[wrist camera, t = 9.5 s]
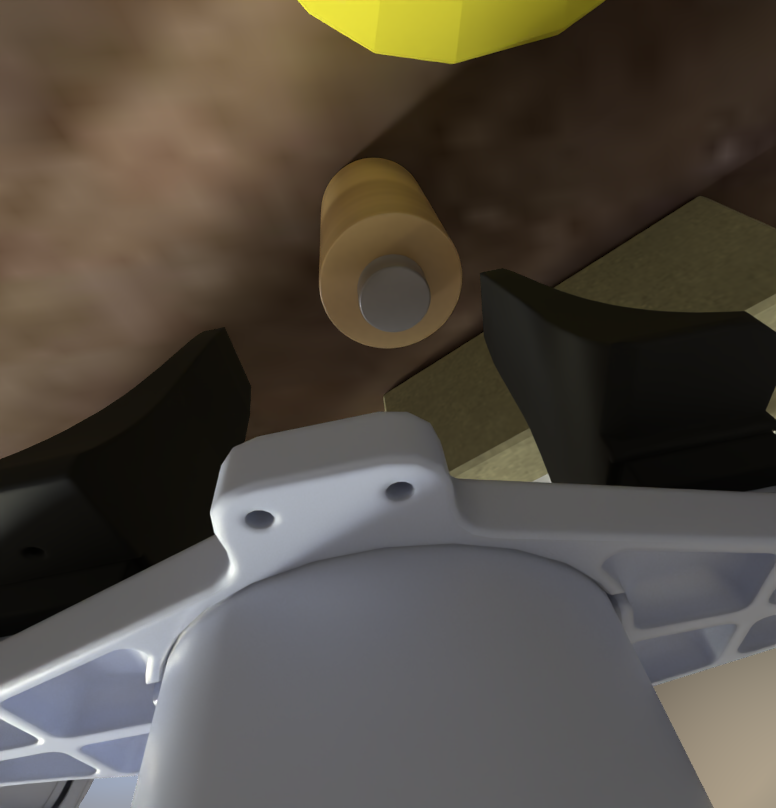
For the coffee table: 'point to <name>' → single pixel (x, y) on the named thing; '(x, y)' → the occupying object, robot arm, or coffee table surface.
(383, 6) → the banana
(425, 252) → the pepper mill
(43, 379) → the coffee table surface
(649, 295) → the tissue dispenser
